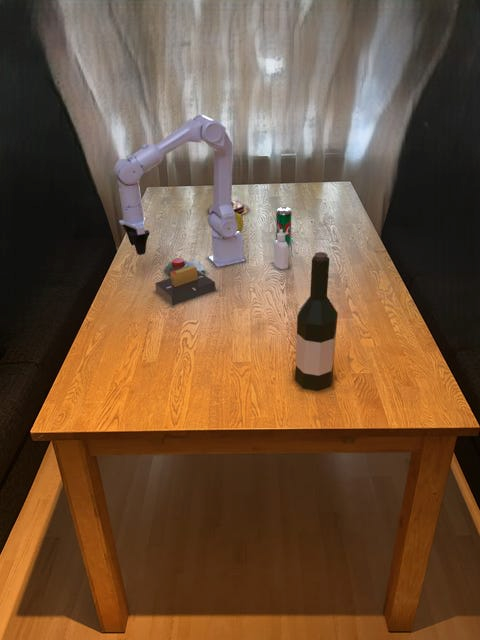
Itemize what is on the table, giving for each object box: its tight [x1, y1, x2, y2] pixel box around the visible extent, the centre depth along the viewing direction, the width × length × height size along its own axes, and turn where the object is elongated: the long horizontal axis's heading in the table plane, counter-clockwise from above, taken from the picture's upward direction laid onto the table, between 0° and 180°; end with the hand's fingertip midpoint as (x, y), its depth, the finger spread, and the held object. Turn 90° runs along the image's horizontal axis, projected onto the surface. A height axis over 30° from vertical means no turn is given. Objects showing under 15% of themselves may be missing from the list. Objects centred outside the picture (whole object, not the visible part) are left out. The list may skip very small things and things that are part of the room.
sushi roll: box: [208, 199, 248, 216], centre depth 206 cm, size 15×15×4 cm
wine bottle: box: [294, 251, 339, 392], centre depth 109 cm, size 8×8×30 cm
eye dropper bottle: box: [273, 229, 289, 270], centre depth 161 cm, size 4×6×12 cm
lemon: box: [235, 212, 244, 233], centre depth 185 cm, size 6×6×8 cm
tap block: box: [154, 270, 216, 307], centre depth 151 cm, size 14×12×3 cm
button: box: [171, 257, 185, 268], centre depth 160 cm, size 4×4×2 cm
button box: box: [165, 260, 206, 277], centre depth 162 cm, size 10×8×3 cm
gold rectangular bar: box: [170, 265, 198, 287], centre depth 150 cm, size 8×2×4 cm, turn 124°
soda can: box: [275, 206, 293, 246], centre depth 176 cm, size 5×5×12 cm
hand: (138, 249), depth 154 cm, fingers open, 7 cm apart
